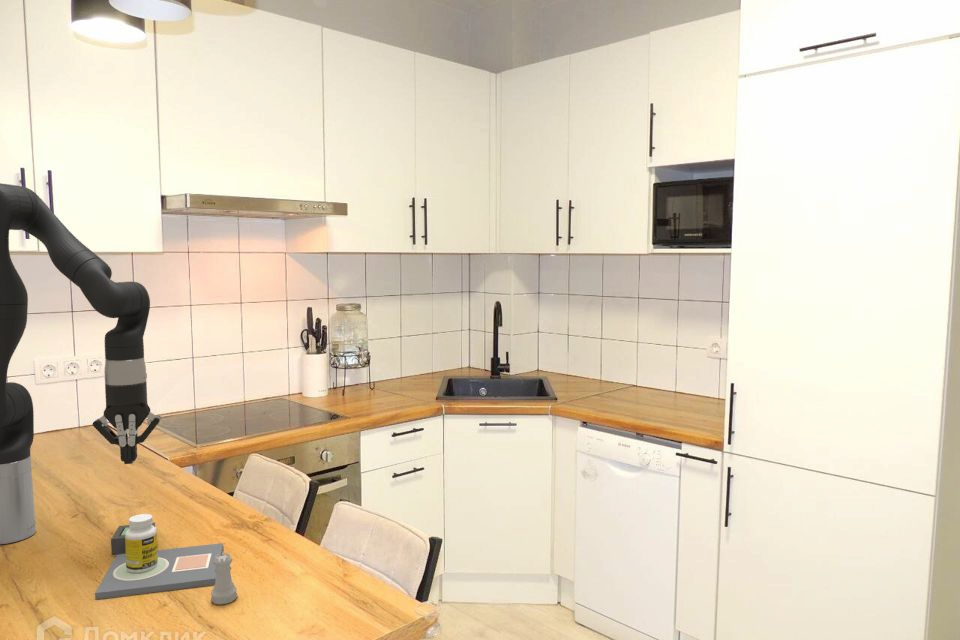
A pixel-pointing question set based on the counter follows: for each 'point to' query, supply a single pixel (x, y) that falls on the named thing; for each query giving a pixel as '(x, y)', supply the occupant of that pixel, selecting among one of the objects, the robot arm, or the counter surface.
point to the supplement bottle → (141, 544)
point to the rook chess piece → (223, 581)
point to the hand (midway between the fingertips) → (129, 462)
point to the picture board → (162, 572)
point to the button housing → (119, 541)
